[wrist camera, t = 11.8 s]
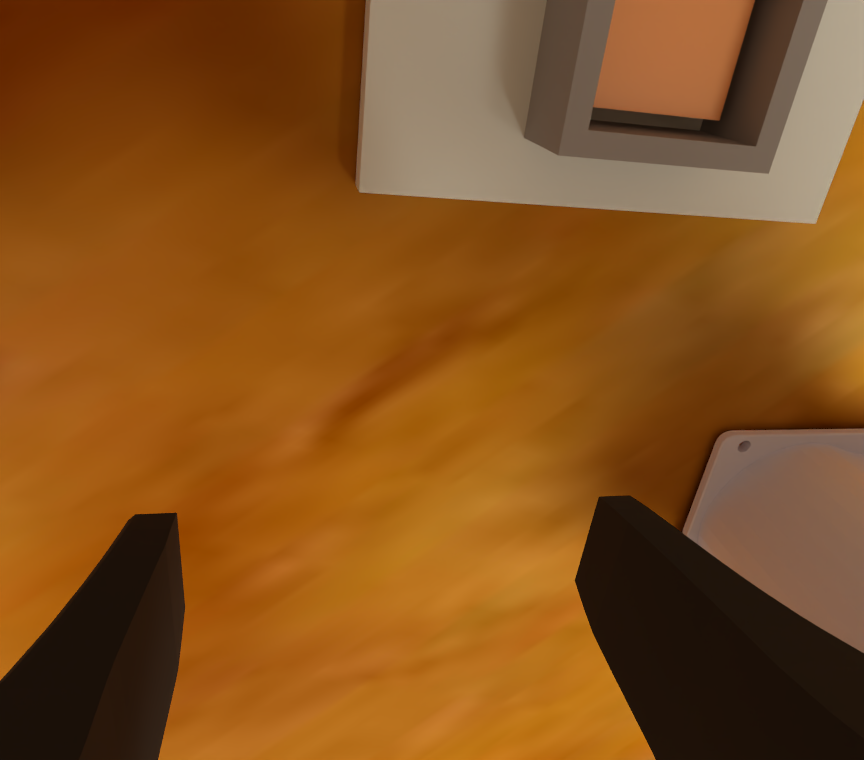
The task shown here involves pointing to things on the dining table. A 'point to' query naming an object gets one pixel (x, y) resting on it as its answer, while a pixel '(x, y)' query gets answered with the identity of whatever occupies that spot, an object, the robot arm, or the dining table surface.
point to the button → (672, 56)
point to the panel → (601, 111)
